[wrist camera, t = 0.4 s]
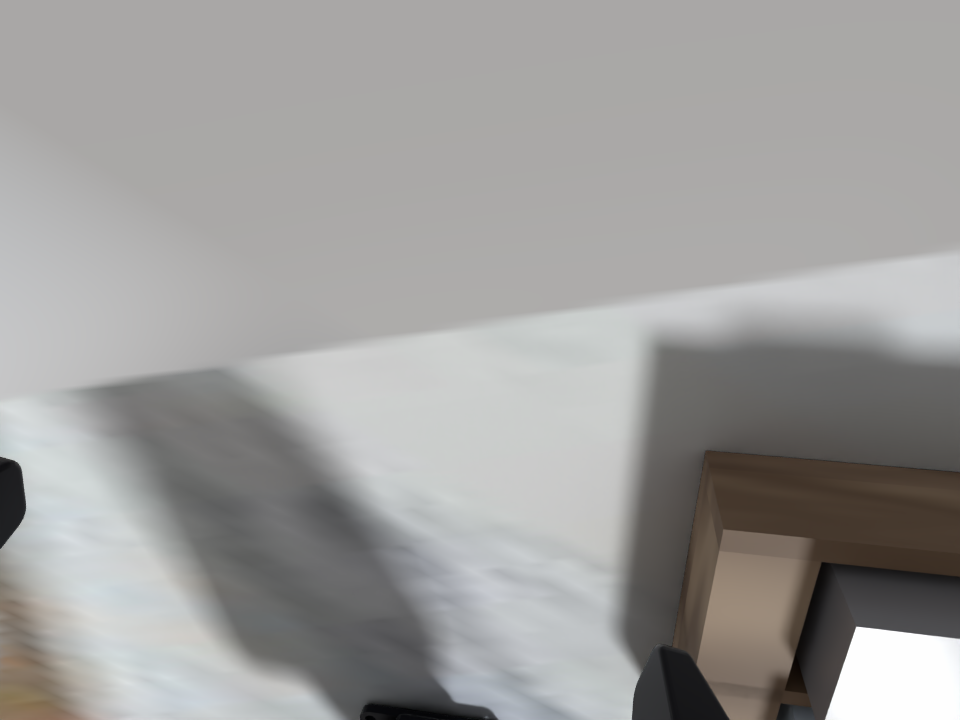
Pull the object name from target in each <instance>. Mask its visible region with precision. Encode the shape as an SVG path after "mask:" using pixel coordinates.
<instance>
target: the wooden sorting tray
mask: <svg viewBox="0 0 960 720" xmlns="http://www.w3.org/2000/svg"><path fill="white" fill-rule="evenodd" d="M821 562H827V563H836V564H846V565H855V566H864V567H874V568H883V569H892V570H902V571H911V572H921V573H930V574H939V575H949V576H958V577H960V473H959V472H947V471H936V470H924V469H913V468H901V467H889V466H878V465H866V464H855V463H843V462H831V461H820V460H808V459H797V458H785V457H774V456H762V455H750V454H739V453H727V452H716V451H706V452H705V457H704V463H703V469H702V475H701V481H700V486H699V492H698V498H697V504H696V510H695V515H694V521H693V527H692V533H691V539H690V544H689V550H688V556H687V562H686V568H685V573H684V579H683V585H682V591H681V597H680V603H679V608H678V614H677V620H676V626H675V632H674V637H673V643H672V647H674V648H678V649H681V650H685V651H686V652H688V653H689V654H690V655H691V657H692V658H693V660H694V661H695V663H696V665H697V666H698V668H699V670H700V671H701V673H702V675H703V676H704V678H705V679H706V681H707V683H708V684H709V686H710V688H711V689H712V691H713V693H714V694H715V696H716V698H717V699H718V701H719V703H720V704H721V706H722V707H723V709H724V711H725V712H726V714H727V716H728V717H729V719H730V720H776V718H777V715H778V711H779V708H780V704H781V703H782V704H790V705H797V706H804V707H811V703H810V700H809V697H808V693H807V690H806V686H805V683H804V680H803V676H802V673H801V669H800V666H799V663H798V659H797V656H796V653H795V652H796V649H797V645H798V642H799V639H800V635H801V632H802V628H803V625H804V621H805V618H806V614H807V611H808V607H809V604H810V600H811V597H812V594H813V590H814V587H815V583H816V580H817V576H818V573H819V569H820V566H821Z"/></svg>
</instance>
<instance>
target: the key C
mask: <svg viewBox="0 0 960 720" xmlns="http://www.w3.org/2000/svg"><path fill="white" fill-rule="evenodd" d="M776 720H815V717H814V713H813V710H812V707H804V706H797V705H790V704H782V703H781V704H780V708H779V711H778V715H777V718H776Z"/></svg>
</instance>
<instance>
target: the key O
mask: <svg viewBox="0 0 960 720" xmlns="http://www.w3.org/2000/svg"><path fill="white" fill-rule="evenodd" d="M795 653H796V656H797V659H798V663H799V666H800V669H801V673H802V676H803V680H804V683H805V686H806V690H807V693H808V697H809V700H810V703H811V707H812V710H813V713H814V717H815V720H960V577H958V576H949V575H939V574H930V573H921V572H911V571H902V570H892V569H883V568H874V567H864V566H855V565H846V564H836V563H827V562H821V566H820V569H819V573H818V576H817V580H816V583H815V587H814V590H813V594H812V597H811V600H810V604H809V607H808V611H807V614H806V618H805V621H804V625H803V628H802V632H801V635H800V639H799V642H798V645H797V649H796V652H795Z"/></svg>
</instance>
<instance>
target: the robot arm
mask: <svg viewBox="0 0 960 720" xmlns="http://www.w3.org/2000/svg"><path fill="white" fill-rule="evenodd" d="M25 511H26V500H25V492H24V484H23V476H22V469H21V467H20V465H19V464H18V463H17V462H15V461H13V460H10V459H6V458H3V457H0V549H1V548H2V546H3V545H4V544H5V543H6V541H7V540H8V539H9V538H10V536H11V535H12V534H13V533H14V531H15V530H16V529H17V527H18V526H19V525H20V523H21V521H22V520H23V518H24V515H25ZM360 720H474V719H467V718H461V717H454V716H447V715H441V714H434V713H427V712H421V711H414V710H407V709H401V708H394V707H387V706H381V705H374V704H368V705H365V706H364V707H363V709H362V712H361V715H360ZM632 720H730V719H729V717H728V716H727V714H726V712H725V711H724V709H723V707H722V706H721V704H720V703H719V701H718V699H717V698H716V696H715V694H714V693H713V691H712V689H711V688H710V686H709V684H708V683H707V681H706V679H705V678H704V676H703V675H702V673H701V671H700V670H699V668H698V666H697V665H696V663H695V661H694V660H693V658H692V657H691V655H690V654H689V653H688V652H686V651H685V650H681V649H678V648H674V647H671V646H667V645H664V644H658V645H656V646H655V647H654V649H653V650H652V652H651V654H650V657H649V659H648V661H647V663H646V665H645V667H644V669H643V671H642V673H641V676H640V678H639V680H638V682H637V685H636V688H635V692H634V698H633V711H632Z"/></svg>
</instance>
